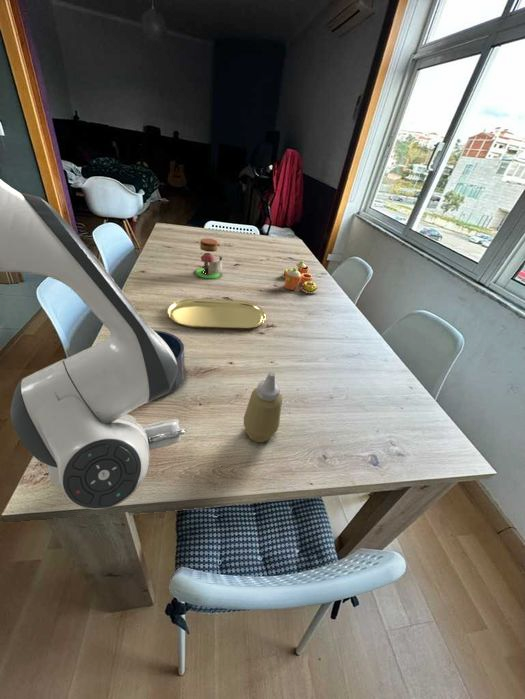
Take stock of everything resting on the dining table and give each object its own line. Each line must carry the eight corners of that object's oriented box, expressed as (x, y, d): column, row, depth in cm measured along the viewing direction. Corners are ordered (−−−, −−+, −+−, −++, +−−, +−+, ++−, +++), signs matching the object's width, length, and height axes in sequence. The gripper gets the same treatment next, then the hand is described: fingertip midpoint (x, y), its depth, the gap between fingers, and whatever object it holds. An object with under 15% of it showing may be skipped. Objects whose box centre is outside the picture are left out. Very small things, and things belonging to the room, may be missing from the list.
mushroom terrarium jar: (190, 277, 129) (190, 242, 120) (199, 267, 139) (200, 235, 130) (217, 282, 129) (219, 248, 120) (223, 271, 139) (225, 239, 130)
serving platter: (169, 301, 110) (169, 297, 109) (261, 305, 117) (261, 302, 116) (165, 328, 95) (164, 324, 94) (269, 331, 102) (270, 328, 102)
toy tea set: (317, 296, 132) (323, 276, 126) (284, 292, 130) (288, 271, 125) (308, 273, 153) (313, 255, 147) (279, 270, 151) (282, 251, 146)
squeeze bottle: (262, 413, 72) (275, 356, 61) (283, 437, 67) (300, 379, 57) (235, 426, 68) (243, 367, 57) (255, 453, 63) (267, 394, 52)
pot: (126, 408, 67) (120, 379, 62) (110, 365, 78) (104, 337, 73) (194, 387, 76) (194, 360, 71) (172, 351, 86) (170, 325, 81)
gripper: (184, 412, 48) (175, 409, 61) (32, 444, 40) (59, 432, 53) (190, 451, 48) (180, 439, 60) (37, 491, 40) (63, 468, 52)
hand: (123, 436), depth 56 cm, fingers open, 8 cm apart
